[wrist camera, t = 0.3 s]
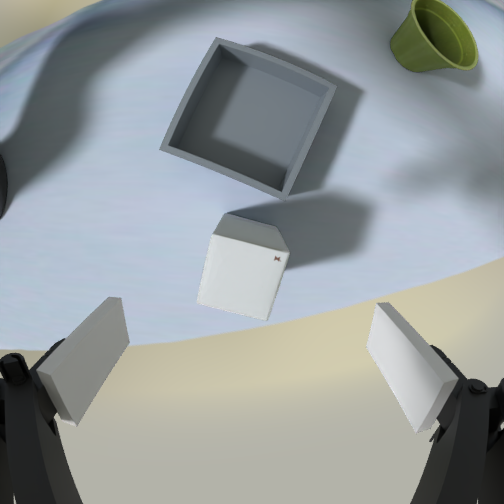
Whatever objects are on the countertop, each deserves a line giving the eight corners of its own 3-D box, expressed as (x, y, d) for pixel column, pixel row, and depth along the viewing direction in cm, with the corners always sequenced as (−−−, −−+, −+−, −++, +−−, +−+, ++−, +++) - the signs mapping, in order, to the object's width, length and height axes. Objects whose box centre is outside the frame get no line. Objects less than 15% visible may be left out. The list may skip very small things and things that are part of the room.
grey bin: (170, 152, 34) (159, 149, 29) (219, 52, 30) (216, 37, 25) (280, 197, 36) (285, 201, 31) (326, 96, 32) (337, 85, 27)
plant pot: (383, 79, 31) (424, 54, 20) (370, 17, 28) (401, -16, 17) (442, 93, 31) (486, 80, 20) (429, 34, 28) (465, 12, 17)
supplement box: (223, 211, 36) (211, 230, 24) (278, 226, 37) (293, 252, 24) (210, 263, 38) (194, 304, 26) (262, 277, 39) (269, 323, 26)
